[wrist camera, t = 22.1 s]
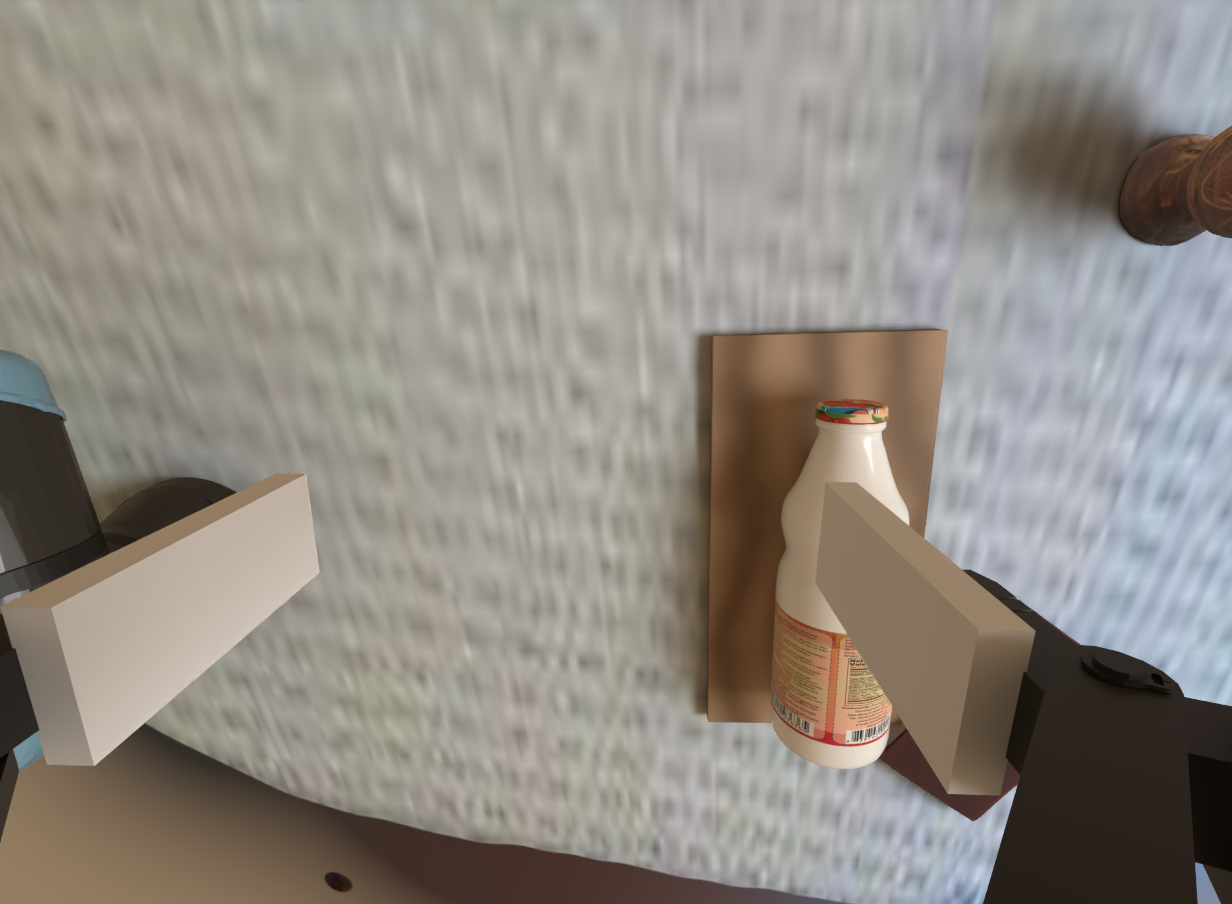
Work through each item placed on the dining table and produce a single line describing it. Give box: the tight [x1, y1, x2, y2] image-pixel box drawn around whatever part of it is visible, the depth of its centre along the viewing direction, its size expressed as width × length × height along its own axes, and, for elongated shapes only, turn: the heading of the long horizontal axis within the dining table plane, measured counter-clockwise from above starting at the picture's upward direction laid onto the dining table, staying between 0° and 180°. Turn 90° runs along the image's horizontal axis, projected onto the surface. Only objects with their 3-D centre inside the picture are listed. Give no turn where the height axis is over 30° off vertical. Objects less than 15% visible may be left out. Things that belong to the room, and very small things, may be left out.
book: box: [879, 599, 1080, 821], centre depth 53 cm, size 12×19×3 cm, turn 144°
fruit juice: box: [770, 399, 909, 769], centre depth 45 cm, size 9×9×28 cm
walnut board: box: [707, 330, 948, 724], centre depth 50 cm, size 18×36×1 cm, turn 2°
